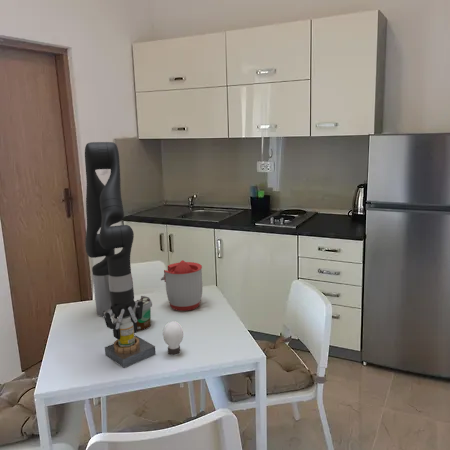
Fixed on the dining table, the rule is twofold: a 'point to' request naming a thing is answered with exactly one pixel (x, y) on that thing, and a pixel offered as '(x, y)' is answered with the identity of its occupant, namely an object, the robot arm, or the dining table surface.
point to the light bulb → (173, 337)
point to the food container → (144, 314)
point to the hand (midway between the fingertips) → (125, 335)
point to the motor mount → (130, 352)
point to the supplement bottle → (126, 332)
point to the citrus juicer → (183, 285)
